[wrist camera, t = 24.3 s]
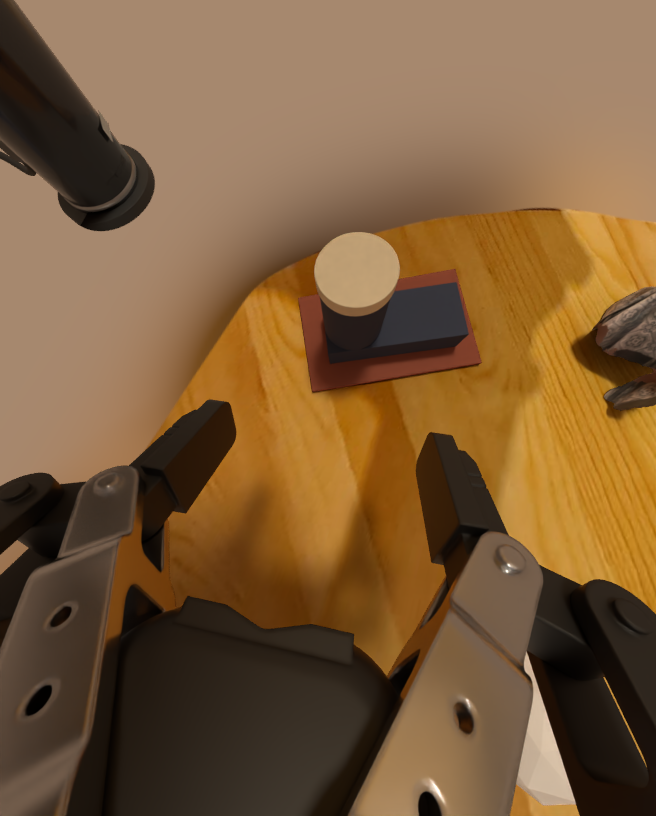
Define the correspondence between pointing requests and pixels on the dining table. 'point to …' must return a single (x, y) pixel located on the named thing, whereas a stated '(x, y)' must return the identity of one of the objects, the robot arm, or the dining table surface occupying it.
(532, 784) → the geometric ball
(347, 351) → the bootie
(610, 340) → the grey patterned crumpled piece
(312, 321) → the mat
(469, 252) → the dining table surface
